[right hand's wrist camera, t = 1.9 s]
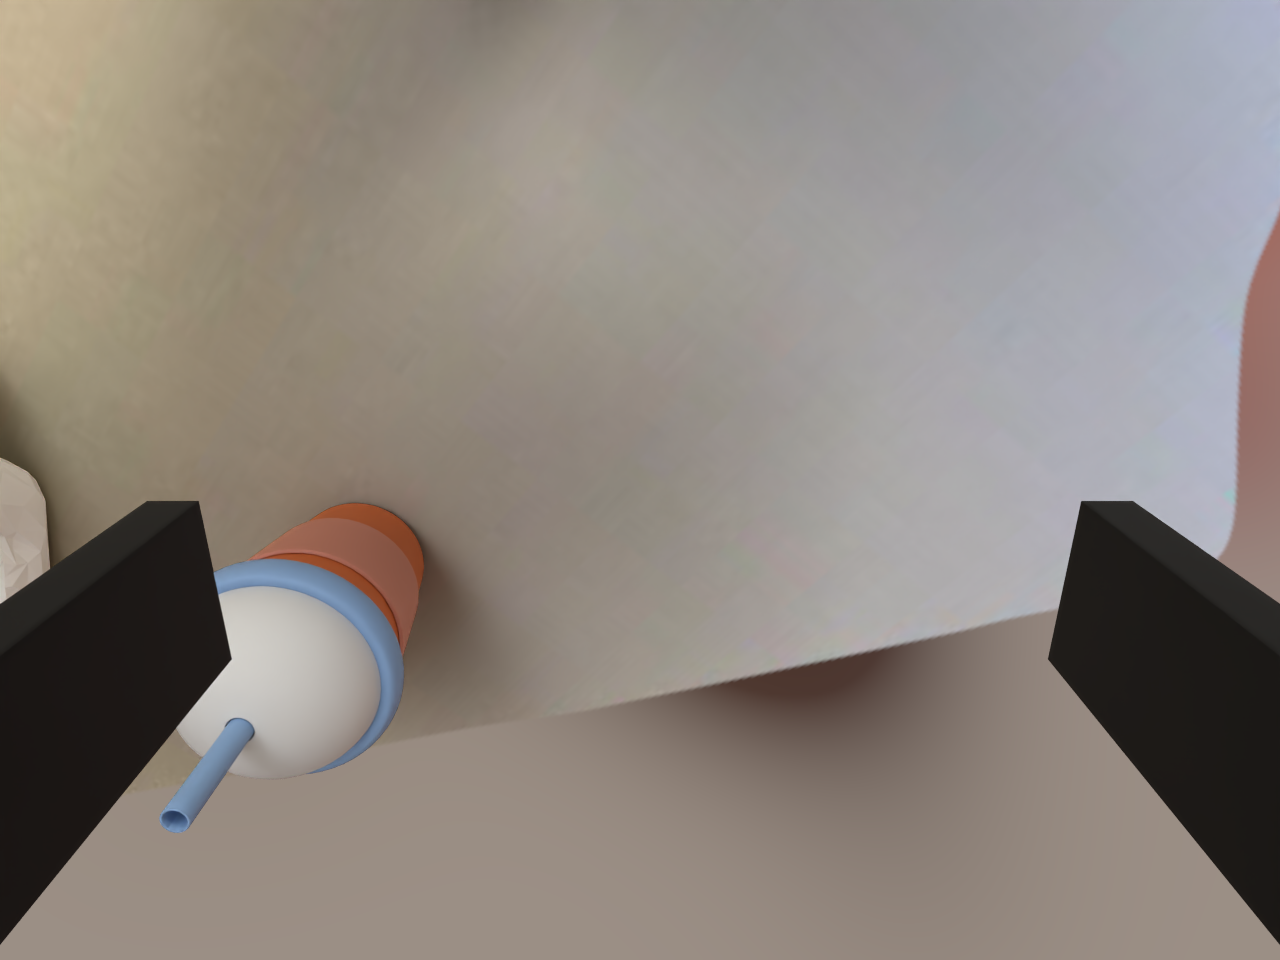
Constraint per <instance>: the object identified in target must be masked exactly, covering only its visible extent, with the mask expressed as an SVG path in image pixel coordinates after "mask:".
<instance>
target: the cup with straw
mask: <svg viewBox="0 0 1280 960" xmlns="http://www.w3.org/2000/svg"><path fill="white" fill-rule="evenodd" d="M423 571H424V560H423V554H422V550H421V547H420V545H419V542H418V540H417V538H416V537H415V535H414V534H413V532H412V531H411V530H410V528H409V527H408V526H407V525H406V524H405V523H404V522H403V521H402V520H400V519H399V518H398V517H397V516H395V515H394V514H392V513H390V512H388V511H386V510H384V509H382V508H379V507H376V506H373V505H368V504H361V503H349V504H342V505H338V506H334V507H331V508H329V509H327V510H325V511H323V512H321V513H320V514H318V515H317V516H315V517H314V518H313V519H311V520H310V521H308V522H305V523H303V524H300V525H298V526H296V527H294V528H292V529H290V530H289V531H287V532H286V533H285V534H283V535H282V536H280V537H279V538H278V539H276V540H275V541H273V542H272V543H271V544H269V545H268V546H266V547H265V548H264V549H262V550H261V551H259V552H258V553H257V554H255V555H254V556H252V557H251V558H250V559H248V560H247V561H245V562H240V563H236V564H233V565H230V566H227V567H224V568H222V569H220V570H218V571H215V572H214V576H215V581H216V586H217V591H218V595H219V600H220V605H221V610H222V614H223V619H224V624H225V629H226V633H227V638H228V643H229V647H230V652H231V657H232V660H231V661H230V662H229V663H228V665H227V666H226V667H225V668H224V670H223V671H222V672H221V673H220V675H219V676H218V677H217V678H216V679H215V681H214V682H213V683H212V684H211V686H210V687H209V688H208V689H207V691H206V692H205V693H204V694H203V695H202V697H201V698H200V699H199V700H198V702H197V703H196V704H195V705H194V707H193V708H192V709H191V710H190V711H189V713H188V714H187V715H186V716H185V718H184V719H183V720H182V721H181V723H180V724H179V725H178V726H177V727H176V729H177V731H178V732H179V734H180V735H181V737H182V738H183V739H184V741H185V742H186V743H187V744H188V745H189V746H190V748H191V749H193V750H194V751H195V752H196V753H197V754H198V755H199V756H201V757H202V759H201V761H200V762H199V763H198V765H197V766H196V767H195V769H194V770H193V771H192V773H191V774H190V775H189V777H188V778H187V779H186V781H185V782H184V783H183V785H182V786H181V787H180V789H179V790H178V791H177V793H176V794H175V795H174V797H173V798H172V799H171V801H170V802H169V803H168V805H167V806H166V807H165V809H164V810H163V811H162V813H161V814H160V823H161V825H162V826H163V827H164V828H165V829H166V830H168V831H170V832H174V833H180V832H183V831H185V830H187V829H188V828H189V826H190V825H191V824H192V822H193V821H194V819H195V818H196V816H197V815H198V813H199V812H200V811H201V809H202V808H203V806H204V805H205V803H206V802H207V800H208V799H209V797H210V796H211V795H212V793H213V792H214V790H215V789H216V787H217V786H218V784H219V783H220V781H221V780H222V779H223V777H224V776H225V774H226V773H227V772H230V773H232V774H236V775H239V776H243V777H248V778H255V779H284V778H291V777H295V776H300V775H304V774H311V773H316V772H321V771H325V770H328V769H332V768H335V767H337V766H340V765H342V764H344V763H346V762H348V761H350V760H352V759H354V758H355V757H357V756H358V755H360V754H361V753H363V752H364V751H365V750H367V749H368V748H369V747H370V746H371V745H373V744H374V743H375V742H376V741H377V740H378V739H379V737H380V736H381V735H382V734H383V732H384V731H385V730H386V729H387V727H388V726H389V724H390V722H391V721H392V719H393V717H394V715H395V713H396V711H397V708H398V705H399V702H400V699H401V695H402V691H403V683H404V664H403V655H404V651H405V648H406V645H407V641H408V638H409V635H410V631H411V628H412V625H413V622H414V618H415V615H416V611H417V607H418V598H419V592H418V591H419V588H420V585H421V582H422V577H423Z"/></svg>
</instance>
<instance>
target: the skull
mask: <svg viewBox="0 0 1280 960" xmlns="http://www.w3.org/2000/svg"><path fill="white" fill-rule="evenodd" d="M49 569H50V560H49V546H48V531H47V516H46V502H45V498H44V496H43V494H42V492H41V490H40V488H39V485H38V483H37V481H36V480H35V479H34V478H33V477H32V476H31V475H30V474H29V473H28V472H27V471H25V470H24V469H22V468H20V467H18V466H16V465H14V464H13V463H11V462H9V461H7V460H4V459H2V458H0V604H1V603H2V602H3V601H5V600H6V599H8V598H9V597H11V596H12V595H13V594H15V593H16V592H18V591H19V590H21V589H22V588H24V587H25V586H26V585H28V584H29V583H31V582H32V581H34V580H35V579H36V578H38V577H39V576H41V575H42V574H44V573H45V572H46V571H48V570H49Z"/></svg>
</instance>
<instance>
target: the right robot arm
mask: <svg viewBox="0 0 1280 960" xmlns="http://www.w3.org/2000/svg"><path fill="white" fill-rule="evenodd" d="M231 660H232V657H231V652H230V647H229V643H228V638H227V633H226V629H225V624H224V619H223V614H222V610H221V605H220V600H219V595H218V591H217V586H216V581H215V576H214V572H213V567H212V562H211V558H210V553H209V548H208V543H207V539H206V534H205V529H204V524H203V520H202V515H201V510H200V505H199V501H147V502H145V503H144V504H142V505H141V506H139V507H138V508H137V509H135V510H134V511H132V512H131V513H129V514H128V515H127V516H125V517H124V518H122V519H121V520H119V521H118V522H117V523H115V524H114V525H112V526H111V527H109V528H108V529H107V530H105V531H104V532H102V533H101V534H99V535H98V536H96V537H95V538H94V539H92V540H91V541H89V542H88V543H86V544H85V545H84V546H82V547H81V548H79V549H78V550H76V551H75V552H74V553H72V554H71V555H69V556H68V557H66V558H65V559H64V560H62V561H61V562H59V563H58V564H56V565H55V566H54V567H52V568H51V569H49V570H48V571H46V572H45V573H44V574H42V575H41V576H39V577H38V578H36V579H35V580H34V581H32V582H31V583H29V584H28V585H26V586H25V587H24V588H22V589H21V590H19V591H18V592H16V593H15V594H13V595H12V596H11V597H9V598H8V599H6V600H5V601H3V602H2V603H1V604H0V944H1V943H2V942H3V940H4V939H5V938H6V937H7V936H8V934H9V933H10V932H11V931H12V929H13V928H14V927H15V926H16V925H17V923H18V922H19V921H20V920H21V918H22V917H23V916H24V915H25V913H26V912H27V911H28V910H29V908H30V907H31V906H32V905H33V904H34V902H35V901H36V900H37V899H38V897H39V896H40V895H41V894H42V892H43V891H44V890H45V889H46V888H47V886H48V885H49V884H50V883H51V881H52V880H53V879H54V878H55V877H56V875H57V874H58V873H59V871H60V870H61V869H62V868H63V867H64V865H65V864H66V863H67V862H68V860H69V859H70V858H71V857H72V855H73V854H74V853H75V852H76V851H77V849H78V848H79V847H80V846H81V844H82V843H83V842H84V841H85V840H86V838H87V837H88V836H89V835H90V833H91V832H92V831H93V830H94V828H95V827H96V826H97V825H98V824H99V822H100V821H101V820H102V819H103V817H104V816H105V815H106V814H107V812H108V811H109V810H110V809H111V807H112V806H113V805H114V804H115V803H116V801H117V800H118V799H119V798H120V796H121V795H122V794H123V793H124V792H125V790H126V789H127V788H128V787H129V785H130V784H131V783H132V782H133V780H134V779H135V778H136V777H137V776H138V774H139V773H140V772H141V771H142V769H143V768H144V767H145V766H146V764H147V763H148V762H149V761H150V760H151V758H152V757H153V756H154V755H155V753H156V752H157V751H158V750H159V748H160V747H161V746H162V745H163V744H164V742H165V741H166V740H167V739H168V737H169V736H170V735H171V734H172V732H173V731H174V730H175V729H176V727H177V726H178V725H179V724H180V723H181V721H182V720H183V719H184V718H185V716H186V715H187V714H188V713H189V711H190V710H191V709H192V708H193V707H194V705H195V704H196V703H197V702H198V700H199V699H200V698H201V697H202V695H203V694H204V693H205V692H206V691H207V689H208V688H209V687H210V686H211V684H212V683H213V682H214V681H215V679H216V678H217V677H218V676H219V675H220V673H221V672H222V671H223V670H224V668H225V667H226V666H227V665H228V663H229V662H230V661H231ZM1048 660H1049V661H1050V662H1051V663H1052V665H1053V666H1054V667H1055V668H1056V670H1057V671H1058V672H1059V673H1060V675H1061V676H1062V677H1063V678H1064V679H1065V681H1066V682H1067V683H1068V684H1069V686H1070V687H1071V688H1072V689H1073V691H1074V692H1075V693H1076V694H1077V695H1078V697H1079V698H1080V699H1081V700H1082V702H1083V703H1084V704H1085V705H1086V707H1087V708H1088V709H1089V710H1090V711H1091V713H1092V714H1093V715H1094V716H1095V718H1096V719H1097V720H1098V721H1099V722H1100V724H1101V725H1102V726H1103V727H1104V729H1105V730H1106V731H1107V732H1108V734H1109V735H1110V736H1111V737H1112V739H1113V740H1114V741H1115V742H1116V744H1117V745H1118V746H1119V747H1120V748H1121V750H1122V751H1123V752H1124V753H1125V755H1126V756H1127V757H1128V758H1129V759H1130V761H1131V762H1132V763H1133V764H1134V766H1135V767H1136V768H1137V769H1138V771H1139V772H1140V773H1141V774H1142V776H1143V777H1144V778H1145V779H1146V780H1147V782H1148V783H1149V784H1150V785H1151V787H1152V788H1153V789H1154V790H1155V792H1156V793H1157V794H1158V795H1159V796H1160V798H1161V799H1162V800H1163V801H1164V803H1165V804H1166V805H1167V806H1168V808H1169V809H1170V810H1171V811H1172V812H1173V814H1174V815H1175V816H1176V817H1177V819H1178V820H1179V821H1180V822H1181V824H1182V825H1183V826H1184V827H1185V828H1186V830H1187V831H1188V832H1189V833H1190V835H1191V836H1192V837H1193V838H1194V840H1195V841H1196V842H1197V843H1198V844H1199V846H1200V847H1201V848H1202V849H1203V851H1204V852H1205V853H1206V854H1207V856H1208V857H1209V858H1210V859H1211V860H1212V862H1213V863H1214V864H1215V865H1216V867H1217V868H1218V869H1219V870H1220V872H1221V873H1222V874H1223V875H1224V876H1225V878H1226V879H1227V880H1228V881H1229V883H1230V884H1231V885H1232V886H1233V888H1234V889H1235V890H1236V891H1237V893H1238V894H1239V895H1240V896H1241V897H1242V899H1243V900H1244V901H1245V902H1246V904H1247V905H1248V906H1249V907H1250V909H1251V910H1252V911H1253V912H1254V913H1255V915H1256V916H1257V917H1258V918H1259V920H1260V921H1261V922H1262V923H1263V925H1264V926H1265V927H1266V928H1267V929H1268V931H1269V932H1270V933H1271V934H1272V936H1273V937H1274V938H1275V939H1276V941H1277V942H1278V943H1279V944H1280V604H1279V603H1278V602H1276V601H1275V600H1274V599H1272V598H1271V597H1269V596H1268V595H1266V594H1265V593H1264V592H1262V591H1261V590H1259V589H1258V588H1256V587H1255V586H1254V585H1252V584H1251V583H1249V582H1248V581H1246V580H1245V579H1244V578H1242V577H1241V576H1239V575H1238V574H1236V573H1235V572H1234V571H1232V570H1231V569H1229V568H1228V567H1226V566H1225V565H1224V564H1222V563H1221V562H1219V561H1218V560H1216V559H1215V558H1214V557H1212V556H1211V555H1209V554H1208V553H1206V552H1205V551H1204V550H1202V549H1201V548H1199V547H1198V546H1196V545H1195V544H1194V543H1192V542H1191V541H1189V540H1188V539H1186V538H1185V537H1184V536H1182V535H1181V534H1179V533H1178V532H1176V531H1175V530H1173V529H1172V528H1171V527H1169V526H1168V525H1166V524H1165V523H1163V522H1162V521H1161V520H1159V519H1158V518H1156V517H1155V516H1153V515H1152V514H1151V513H1149V512H1148V511H1146V510H1145V509H1143V508H1142V507H1141V506H1139V505H1138V504H1136V503H1135V502H1133V501H1081V505H1080V510H1079V515H1078V520H1077V524H1076V529H1075V534H1074V539H1073V543H1072V548H1071V553H1070V558H1069V562H1068V567H1067V572H1066V576H1065V581H1064V586H1063V591H1062V595H1061V600H1060V605H1059V610H1058V614H1057V619H1056V624H1055V628H1054V633H1053V638H1052V643H1051V648H1050V652H1049V657H1048Z"/></svg>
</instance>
